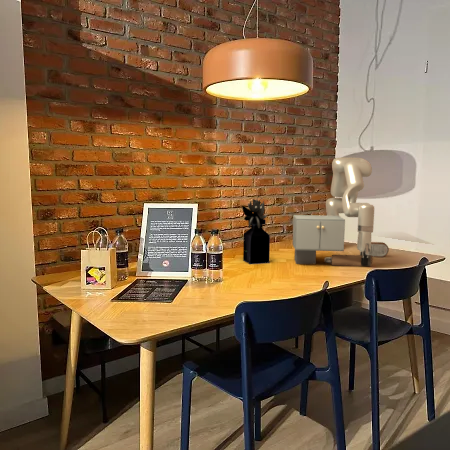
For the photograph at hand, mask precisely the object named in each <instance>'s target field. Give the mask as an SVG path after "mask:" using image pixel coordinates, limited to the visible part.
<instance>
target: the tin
mask: <svg viewBox="0 0 450 450" xmlns="http://www.w3.org/2000/svg"><path fill="white" fill-rule="evenodd" d="M389 251H390V248H389V246H388V245H387V244H386V243H385V242H383V241H371V251H370V252H369V255H372V256H373V258H384V257H386V256H387V255H388V254H389Z"/></svg>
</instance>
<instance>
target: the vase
mask: <svg viewBox="0 0 450 450" xmlns="http://www.w3.org/2000/svg"><path fill="white" fill-rule="evenodd" d="M259 197H261V198H260V199H259V200H258V198H259ZM260 200H263V198H262V195H258V196H257V197H256V198H255V199H252V200H250V201H249V202H248V203H247V207H246V206H244V205H242V206H241V209H242V213H244V215H245V216H244V218H243V220H244V221H248V230H247V231H245V232H244V233H243V245H242V246H243V247H242V248H243V253H242V254H243V255H242V261H243V262H245V263H247V264H249V265H261V264H263V265H264V264H270V254H271V253H270V252H271V251H270V250H271V249H270V246H271V239H270V238H271V235H270V234H269V233H268V232H267V231H265V229H264V228H263V225H266V221H267V220H266V219H265V218H267V217H268V215H266V214H265V208H266V207H265V202H264V200H263V201H260ZM264 214H265V215H264Z"/></svg>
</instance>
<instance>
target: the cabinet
mask: <svg viewBox="0 0 450 450" xmlns="http://www.w3.org/2000/svg"><path fill="white" fill-rule="evenodd" d="M292 217H293V219H292V246H293V248H294V262H295V265H296V264H297V265H298V264H299V265H316V263H317V261H316V259H317V252H344V249H345V229H346V219H345V218H343V217H342V216H341V215H339V216H327V215H314V214H313V215H312V214H309V215H307V214H305V215H304V214H294V215H293V216H292Z"/></svg>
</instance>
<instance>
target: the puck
mask: <svg viewBox="0 0 450 450" xmlns="http://www.w3.org/2000/svg"><path fill="white" fill-rule="evenodd" d="M324 263H326V264H331V263H332V256H331V257H330V256H329V257H327V256H326V257H324Z"/></svg>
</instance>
